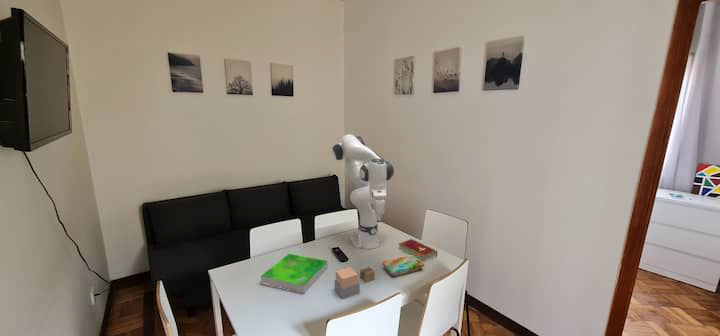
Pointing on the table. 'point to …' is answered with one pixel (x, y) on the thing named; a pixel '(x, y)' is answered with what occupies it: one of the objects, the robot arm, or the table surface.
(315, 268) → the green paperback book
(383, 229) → the table surface
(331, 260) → the table surface
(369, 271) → the walnut block
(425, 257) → the hardcover book
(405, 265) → the puzzle game
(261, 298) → the table surface
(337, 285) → the tower base
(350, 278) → the block
